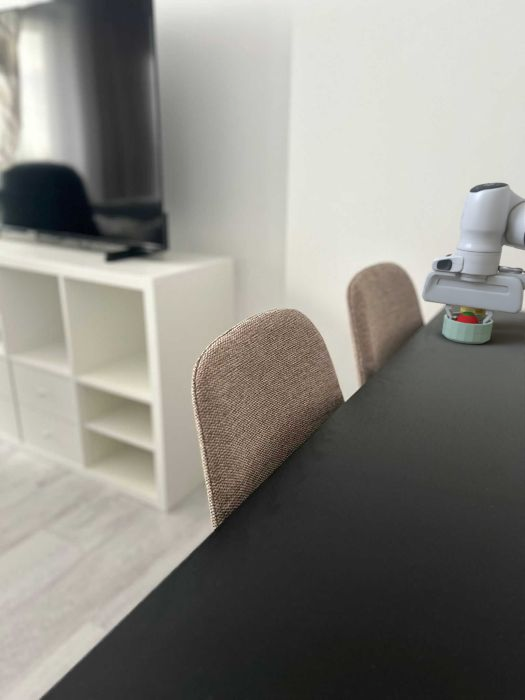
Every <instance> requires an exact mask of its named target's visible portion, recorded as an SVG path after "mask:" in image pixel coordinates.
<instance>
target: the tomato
mask: <svg viewBox="0 0 525 700" xmlns="http://www.w3.org/2000/svg"><path fill="white" fill-rule="evenodd" d="M456 321H457V322H462V323H469V324H478V319H477V318H476V316H474V313H472V312H463V314H462V315H460V316H459V317H458V318H457V319H456Z"/></svg>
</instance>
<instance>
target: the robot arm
mask: <svg viewBox="0 0 525 700" xmlns="http://www.w3.org/2000/svg"><path fill="white" fill-rule="evenodd" d="M459 232H460V234H459V235H460V236H459V241H458V243H457V245H456V249H455V253H450V254H449V253H448V254H446V255H442V256H437V257H436V258H434V259H433V260H432V261H431V269H432V270H430V271H429V272H428V273H427V274H426V277H425V280H424V283H423V287H422V293H421V298H422V300H423V301H424V302H427V303H435V304H440V305H441V304H442V305H445V307H444V310H445V312H446V314H448V316H449V319H451V320H454V321H456V319H457V316H454V315H453V313H454V312H453V310H452V309H453V308H454V307H455V306H458V307H461V306H463V307H470V308H478V309H485V310H486V315H487V316H486V318H485V319H484V320H479V321H478V324H486V322H487V321H488V320H489V319H490V318H491V319H492V317H493V315H494V312H500V313H508V314H518V313H519V312H521V311H522V309H523V303H524V292H525V270H524V269H523V268H521V267H511V266H505V265H504V266H503V265H500V264H501V258H502V252H503V247H504V246H505V247H510V248H513V249H516V250H521V251H525V198H524V197H522V196H520V195H519V194H517V193H516V192H514V191H513V190H512V188H511V187H510V185H509V184H508V183H505V182H488V183H481V184H477V185H475V186H473V187H471V188H470V189H469V190H468V192H467V194H466V197H465V200H464V202H463V207H462V211H461V217H460V223H459Z"/></svg>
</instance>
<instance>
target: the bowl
mask: <svg viewBox="0 0 525 700" xmlns="http://www.w3.org/2000/svg"><path fill="white" fill-rule="evenodd" d="M462 314H463V312H460V311H458V312H457V311H456V312H453V315H454V316H457V318H458V317H459V316H460V315H462ZM474 316H476V318H477V319H478V321H479V320H484V319H485V318H486V316H483V315H479V314H474ZM493 327H494V320H493V318H492V317H491V318H490V319H489V320H488V321H487V322H486V324H469V323H462V322H457V321H454V320H451V319H449V316H448V314H447V313H446V314H444V315H443V322H442V327H441V334H442V335H443V336H444V337H445V338H446V339H448V340H449V341H452V342H456V343H460V344H467V345H480V344H484V343H487V342H488V341H490V340H491V338H492V332H493Z"/></svg>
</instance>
